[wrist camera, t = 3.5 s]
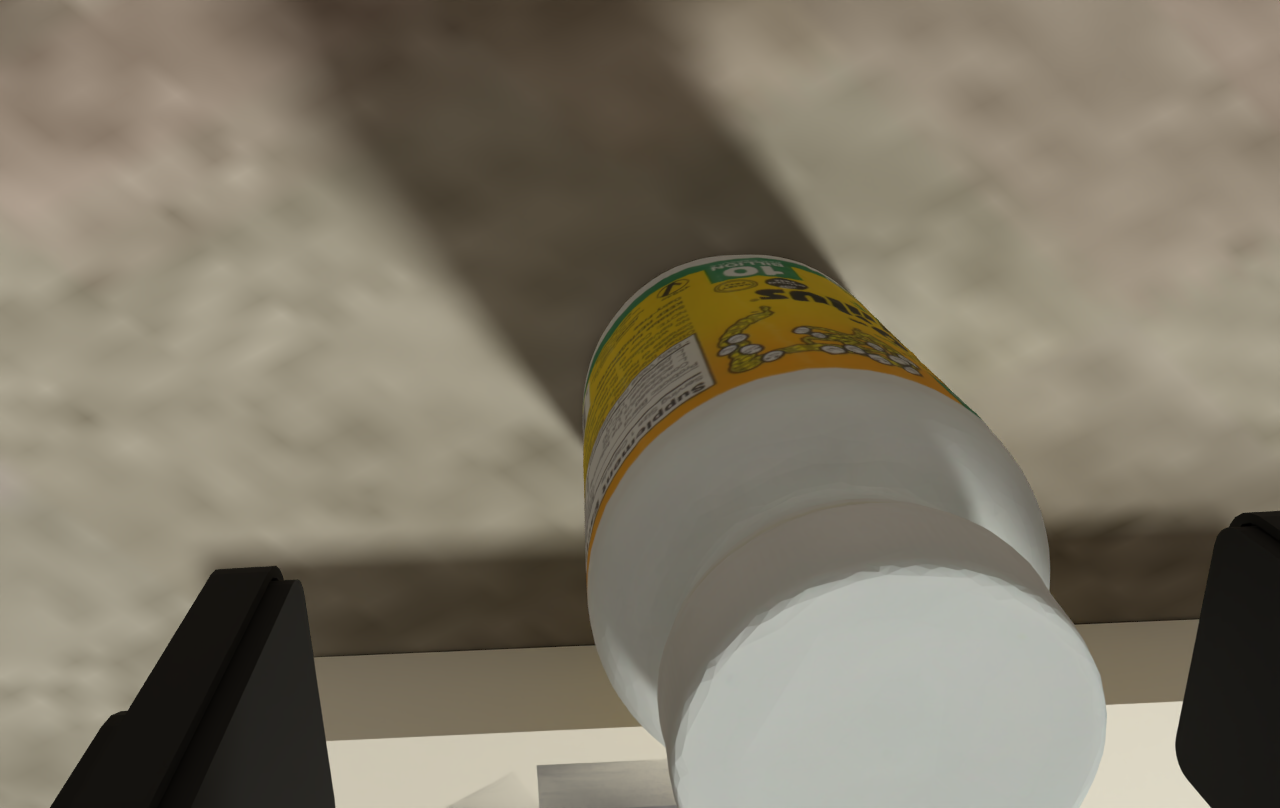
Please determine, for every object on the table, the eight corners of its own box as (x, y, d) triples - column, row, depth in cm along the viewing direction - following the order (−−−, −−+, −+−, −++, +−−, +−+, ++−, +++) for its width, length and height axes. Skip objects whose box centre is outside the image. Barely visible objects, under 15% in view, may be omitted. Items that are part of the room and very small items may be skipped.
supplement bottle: (522, 424, 18) (464, 815, 9) (713, 179, 17) (864, 354, 8) (755, 581, 19) (903, 1058, 10) (948, 366, 18) (1306, 699, 9)
